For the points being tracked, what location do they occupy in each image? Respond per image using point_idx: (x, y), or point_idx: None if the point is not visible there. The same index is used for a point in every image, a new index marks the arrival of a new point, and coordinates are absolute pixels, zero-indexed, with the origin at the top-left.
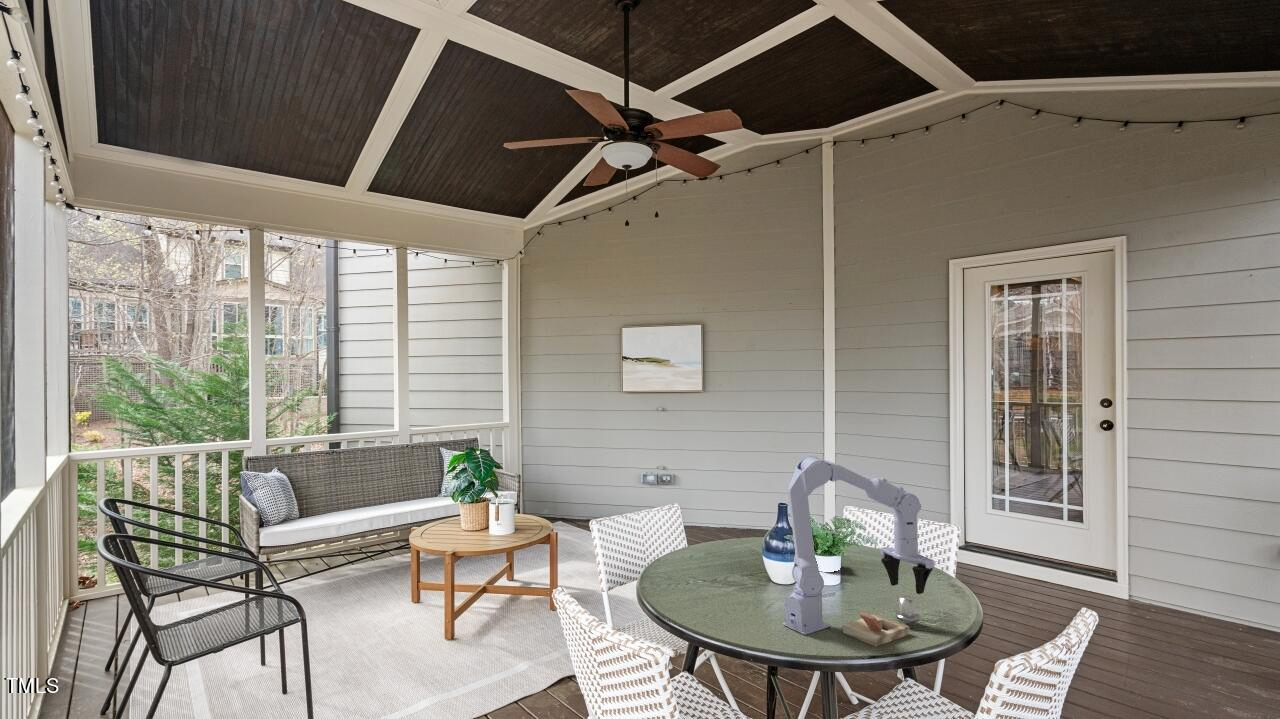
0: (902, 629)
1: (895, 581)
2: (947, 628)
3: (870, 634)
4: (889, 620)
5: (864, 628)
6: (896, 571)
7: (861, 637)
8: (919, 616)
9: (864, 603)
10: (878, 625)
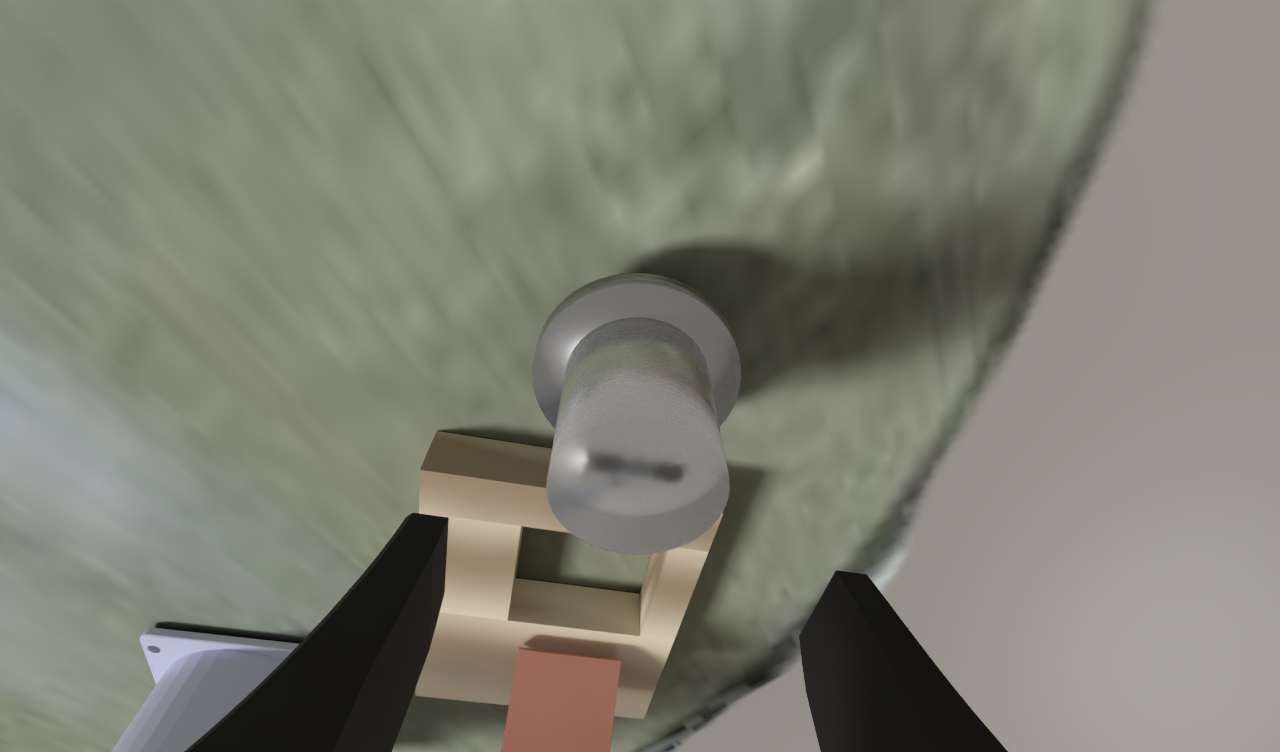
0: (702, 565)
1: (430, 598)
2: (936, 180)
3: None
4: None
5: None
6: (362, 725)
7: None
8: (735, 348)
9: (40, 122)
10: (613, 707)
